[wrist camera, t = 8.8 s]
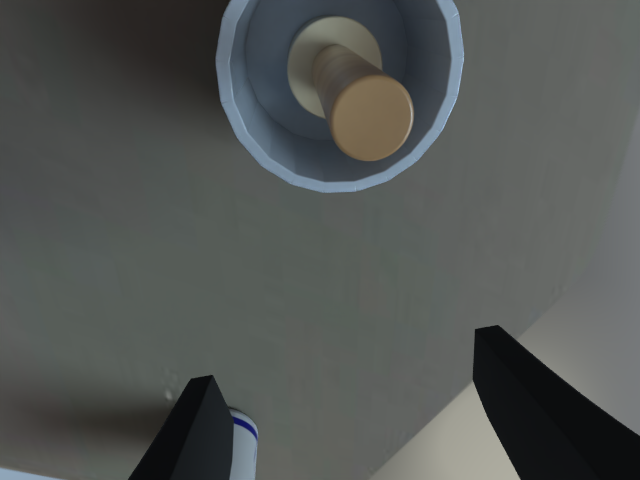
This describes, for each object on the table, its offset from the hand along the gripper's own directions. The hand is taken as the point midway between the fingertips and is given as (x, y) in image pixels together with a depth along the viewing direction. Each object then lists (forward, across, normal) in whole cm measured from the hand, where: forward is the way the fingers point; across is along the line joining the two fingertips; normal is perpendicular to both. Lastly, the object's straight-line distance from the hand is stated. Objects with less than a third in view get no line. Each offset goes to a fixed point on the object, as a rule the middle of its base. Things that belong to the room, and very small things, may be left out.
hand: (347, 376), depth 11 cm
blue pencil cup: (+10, -1, -7) cm, 13 cm away
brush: (+10, -1, -7) cm, 13 cm away
